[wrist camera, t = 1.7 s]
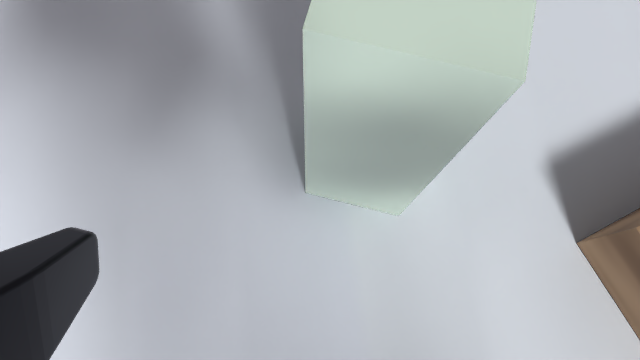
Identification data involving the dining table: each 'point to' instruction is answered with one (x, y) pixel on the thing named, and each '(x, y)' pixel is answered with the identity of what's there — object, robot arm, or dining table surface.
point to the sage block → (403, 90)
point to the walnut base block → (618, 263)
